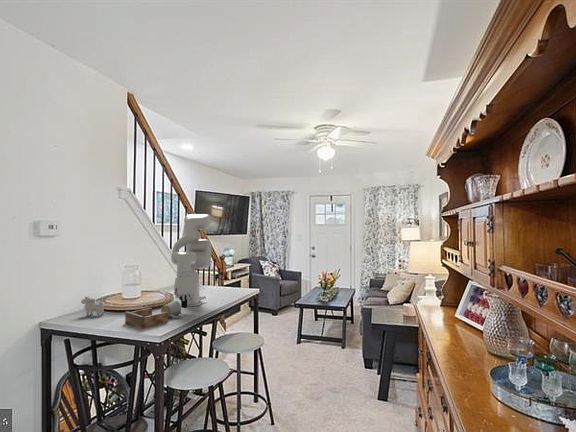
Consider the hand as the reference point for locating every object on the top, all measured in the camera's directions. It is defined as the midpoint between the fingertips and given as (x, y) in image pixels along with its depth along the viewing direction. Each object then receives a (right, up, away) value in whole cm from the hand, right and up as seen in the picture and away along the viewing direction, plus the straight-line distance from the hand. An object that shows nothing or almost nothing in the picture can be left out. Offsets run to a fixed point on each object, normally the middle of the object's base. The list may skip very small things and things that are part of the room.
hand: (184, 307), depth 189 cm
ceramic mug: (-4, -3, -7) cm, 8 cm away
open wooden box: (-14, -3, -17) cm, 22 cm away
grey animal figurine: (-51, -4, -1) cm, 51 cm away
